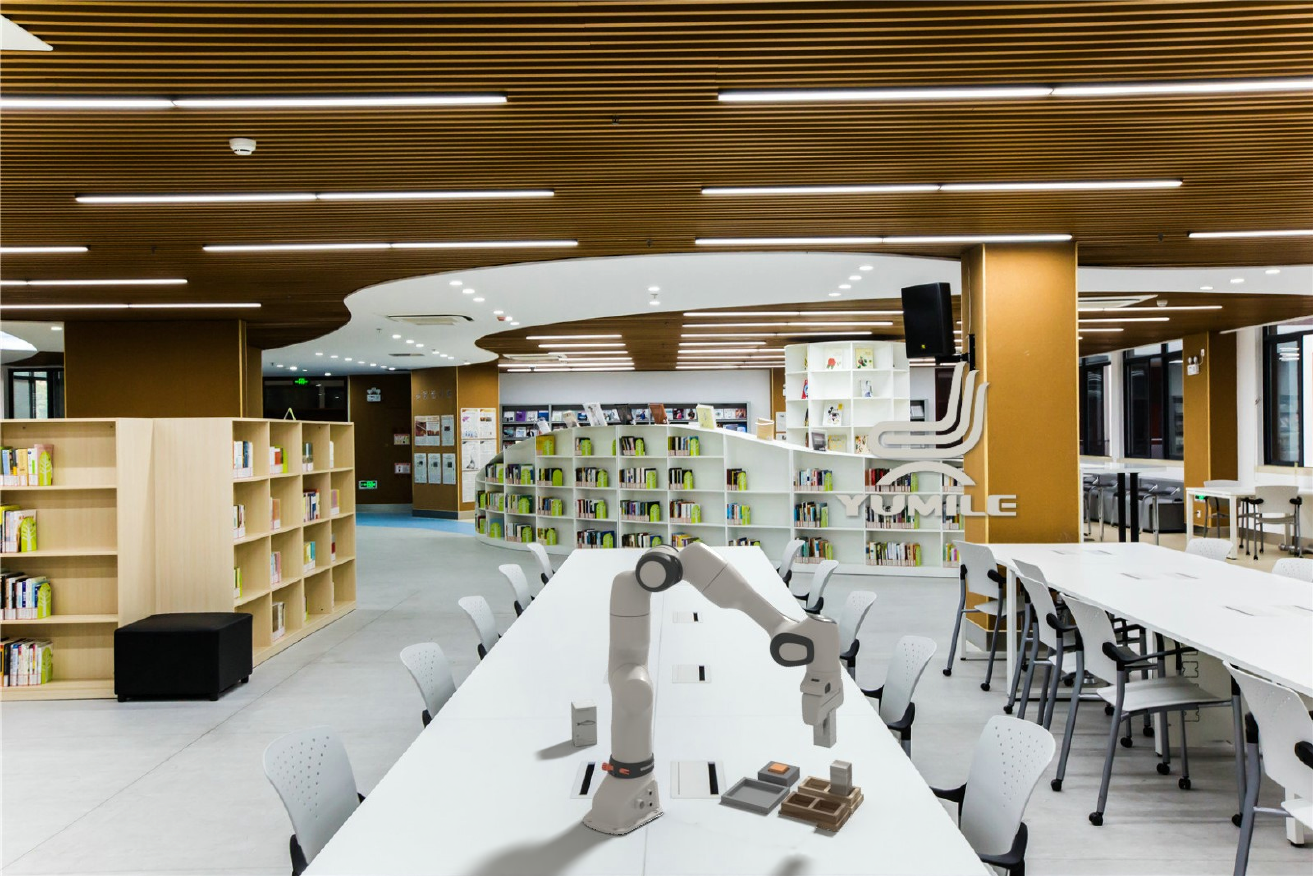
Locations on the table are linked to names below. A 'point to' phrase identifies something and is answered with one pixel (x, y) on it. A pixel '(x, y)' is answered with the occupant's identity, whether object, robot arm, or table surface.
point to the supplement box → (584, 722)
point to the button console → (779, 775)
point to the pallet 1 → (825, 792)
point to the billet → (827, 731)
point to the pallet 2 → (815, 810)
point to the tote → (755, 795)
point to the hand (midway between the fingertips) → (824, 731)
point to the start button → (778, 768)
